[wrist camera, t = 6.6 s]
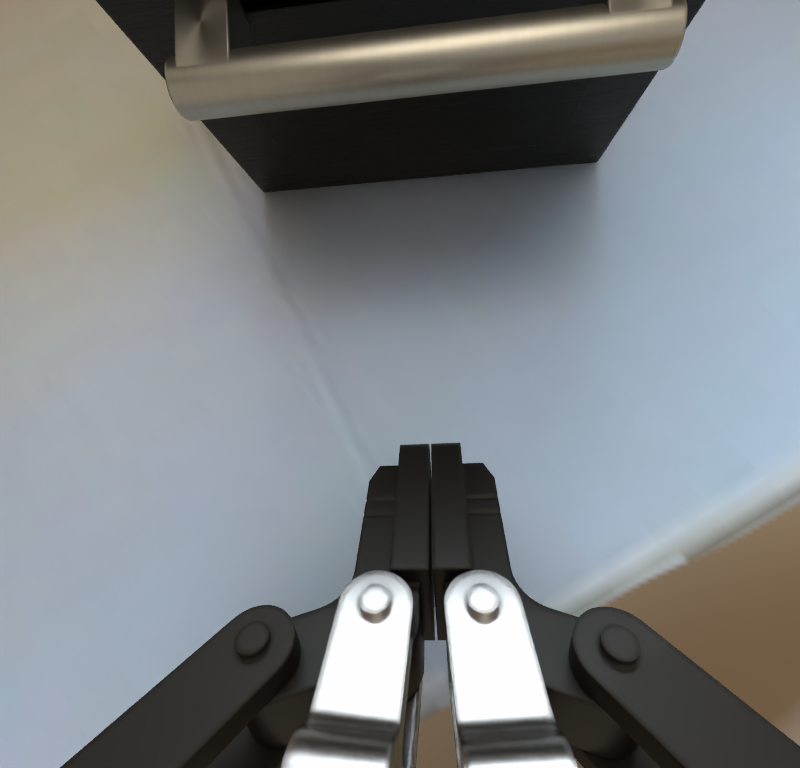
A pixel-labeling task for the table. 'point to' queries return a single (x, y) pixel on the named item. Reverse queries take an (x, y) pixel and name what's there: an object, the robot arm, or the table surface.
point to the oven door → (405, 80)
